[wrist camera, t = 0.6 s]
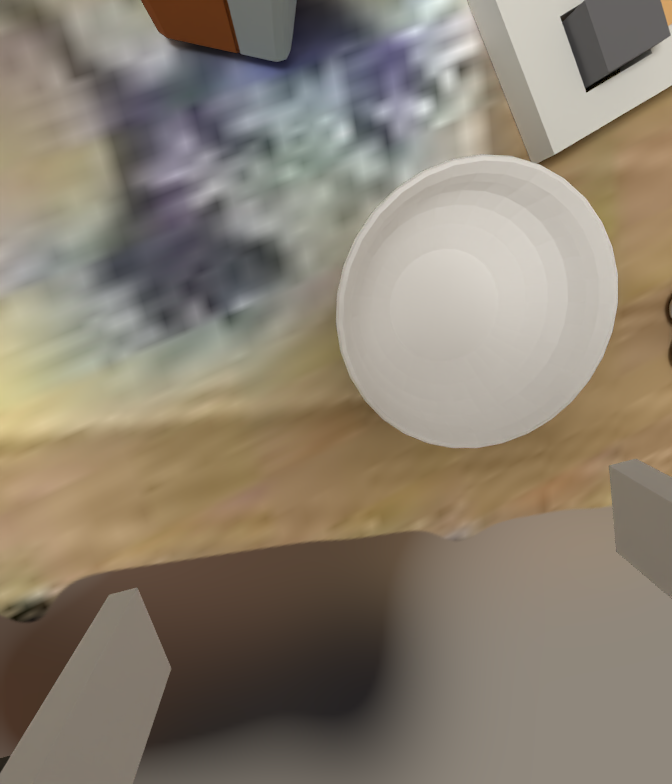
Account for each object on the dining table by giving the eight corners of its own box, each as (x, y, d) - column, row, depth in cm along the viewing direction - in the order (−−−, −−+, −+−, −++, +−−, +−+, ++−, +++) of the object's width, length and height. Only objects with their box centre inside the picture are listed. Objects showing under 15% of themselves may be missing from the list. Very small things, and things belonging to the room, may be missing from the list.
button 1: (555, 28, 30) (584, 0, 27) (612, -7, 30) (649, -40, 27) (578, 93, 31) (608, 72, 28) (633, 59, 31) (670, 35, 28)
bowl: (589, 325, 38) (668, 337, 30) (413, 455, 39) (443, 500, 31) (473, 128, 33) (529, 80, 25) (279, 285, 35) (274, 286, 27)
